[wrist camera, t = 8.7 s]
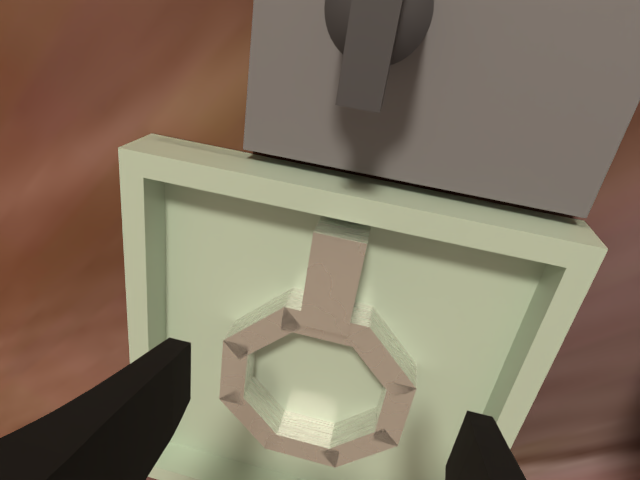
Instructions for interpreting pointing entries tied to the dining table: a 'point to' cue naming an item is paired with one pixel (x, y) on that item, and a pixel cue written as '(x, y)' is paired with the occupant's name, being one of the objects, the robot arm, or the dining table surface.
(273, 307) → the ring
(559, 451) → the dining table surface
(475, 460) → the robot arm
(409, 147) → the base
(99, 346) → the dining table surface
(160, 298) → the tray
